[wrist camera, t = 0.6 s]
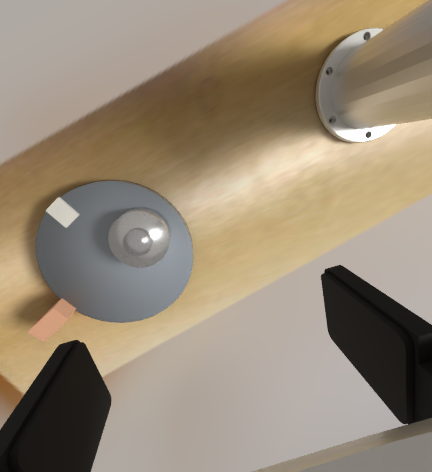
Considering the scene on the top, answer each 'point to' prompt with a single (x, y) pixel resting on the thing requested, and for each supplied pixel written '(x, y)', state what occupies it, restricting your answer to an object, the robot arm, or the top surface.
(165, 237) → the cover
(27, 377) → the top surface
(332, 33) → the top surface
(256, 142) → the top surface
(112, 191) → the turntable
